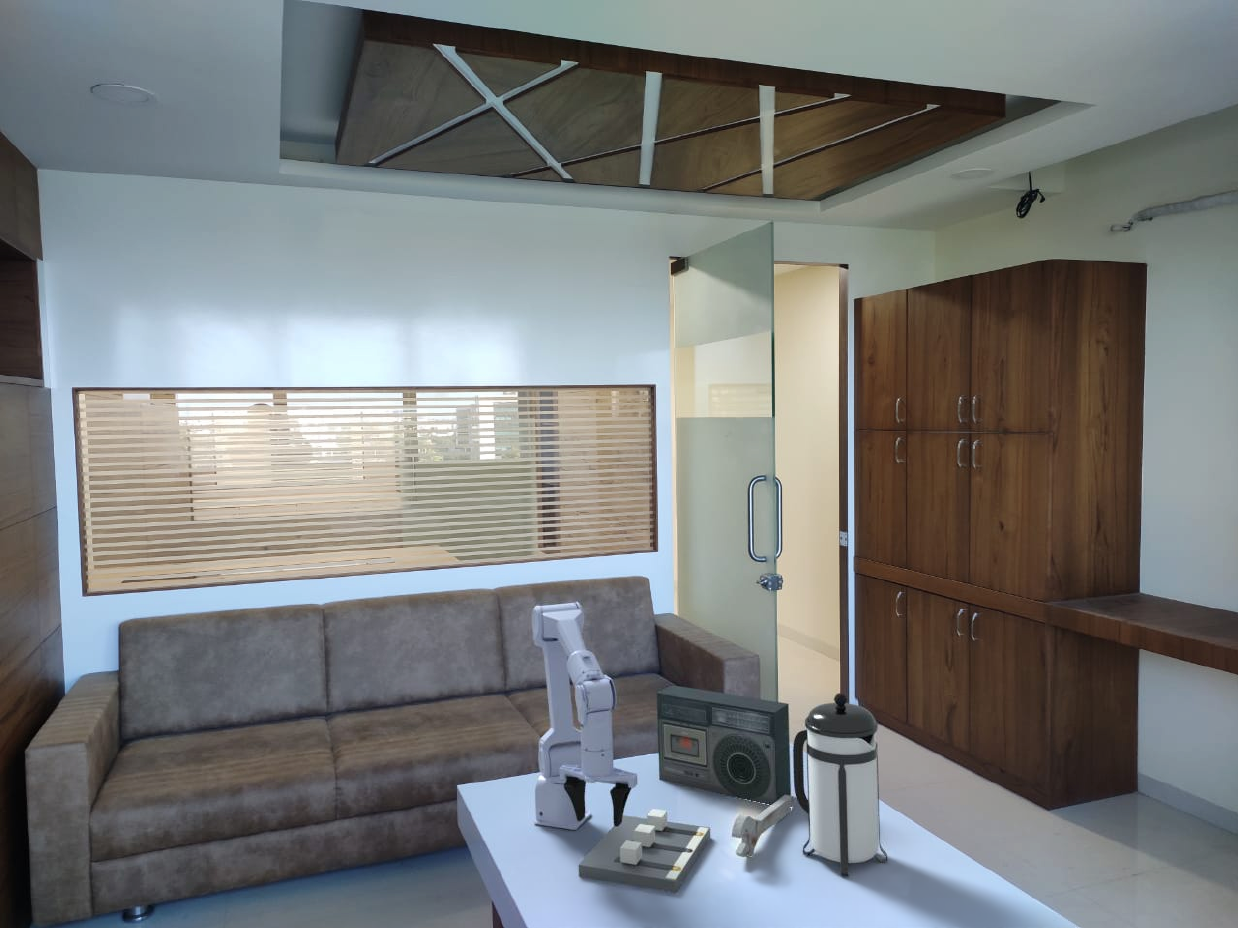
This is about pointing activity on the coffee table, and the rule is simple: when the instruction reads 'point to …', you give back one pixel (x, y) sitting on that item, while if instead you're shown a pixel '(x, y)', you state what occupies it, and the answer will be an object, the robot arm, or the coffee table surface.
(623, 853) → the switch tab
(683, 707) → the cassette player
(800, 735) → the coffee press
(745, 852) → the wrench
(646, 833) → the white cube
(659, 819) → the switch tab
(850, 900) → the coffee table surface
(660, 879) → the switch board
